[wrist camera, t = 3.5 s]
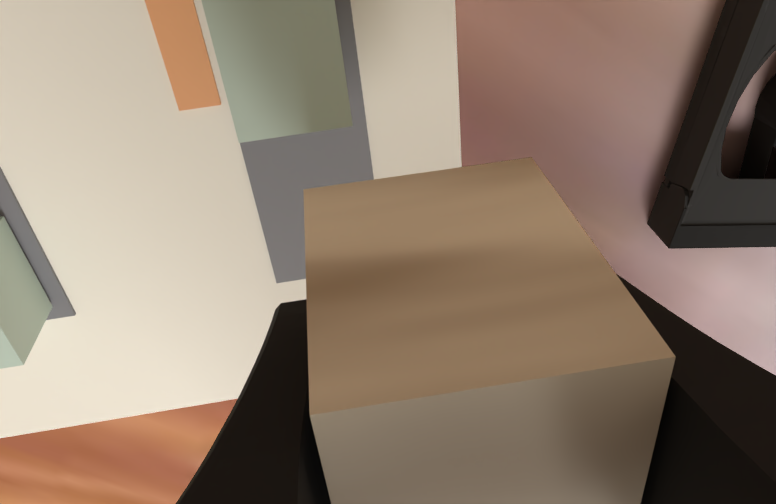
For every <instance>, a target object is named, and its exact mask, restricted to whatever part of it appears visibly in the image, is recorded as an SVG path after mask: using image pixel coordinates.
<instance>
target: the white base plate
mask: <svg viewBox="0 0 776 504" xmlns="http://www.w3.org/2000/svg"><path fill="white" fill-rule="evenodd" d="M335 7H336V14H337V21H338V27H339V34H340V41H341V48H342V55H343V62H344V68H345V75H346V82H347V89H348V96H349V103H350V110H351V116H352V123H353V126H350V127H344V128H337V129H330V130H323V131H317V132H310V133H303V134H297V135H290V136H283V137H277V138H270V139H263V140H256V141H250V142H243V143H239V141H238V137H237V134H236V130H235V126H234V122H233V118H232V115H231V111H230V107H229V103H228V99H227V96H226V92H225V88H224V84H223V81H222V77H221V73H220V69H219V65H218V62H217V58H216V54H215V50H214V46H213V43H212V39H211V35H210V31H209V27H208V24H207V20H206V16H205V12H204V8H203V5H202V1H201V0H0V217H1V216H4V218H5V219H6V221H7V223H8V225H9V227H10V229H11V231H12V232H13V234H14V236H15V238H16V240H17V242H18V243H19V245H20V247H21V249H22V251H23V253H24V255H25V256H26V258H27V260H28V262H29V264H30V266H31V267H32V269H33V271H34V273H35V275H36V277H37V279H38V280H39V282H40V284H41V286H42V288H43V290H44V291H45V293H46V295H47V297H48V299H49V301H50V303H51V304H52V306H53V307H52V309H51V311H50V313H49V315H48V317H47V319H46V321H45V323H44V325H43V327H42V329H41V331H40V333H39V335H38V337H37V339H36V341H35V343H34V345H33V347H32V349H31V351H30V353H29V355H28V357H27V359H26V361H25V363H24V365H21V366H15V367H8V368H2V369H0V438H4V437H10V436H16V435H22V434H28V433H34V432H40V431H46V430H52V429H58V428H64V427H70V426H76V425H82V424H88V423H94V422H100V421H106V420H112V419H118V418H124V417H130V416H136V415H142V414H148V413H154V412H160V411H166V410H172V409H178V408H184V407H190V406H196V405H202V404H208V403H214V402H220V401H226V400H232V399H238V397H239V395H240V393H241V391H242V389H243V387H244V385H245V383H246V381H247V379H248V377H249V374H250V372H251V370H252V368H253V366H254V364H255V361H256V359H257V357H258V354H259V352H260V350H261V347H262V345H263V343H264V340H265V338H266V335H267V332H268V330H269V327H270V324H271V321H272V318H273V315H274V312H275V309H276V308H277V307H278V306H279V305H280V303H285V302H291V301H298V300H305V299H306V265H305V228H304V191H303V189H310V188H317V187H324V186H331V185H338V184H345V183H352V182H360V181H367V180H374V179H381V178H388V177H395V176H402V175H409V174H416V173H423V172H430V171H437V170H444V169H452V168H459V167H462V162H461V136H460V111H459V85H458V60H457V35H456V9H455V0H335Z"/></svg>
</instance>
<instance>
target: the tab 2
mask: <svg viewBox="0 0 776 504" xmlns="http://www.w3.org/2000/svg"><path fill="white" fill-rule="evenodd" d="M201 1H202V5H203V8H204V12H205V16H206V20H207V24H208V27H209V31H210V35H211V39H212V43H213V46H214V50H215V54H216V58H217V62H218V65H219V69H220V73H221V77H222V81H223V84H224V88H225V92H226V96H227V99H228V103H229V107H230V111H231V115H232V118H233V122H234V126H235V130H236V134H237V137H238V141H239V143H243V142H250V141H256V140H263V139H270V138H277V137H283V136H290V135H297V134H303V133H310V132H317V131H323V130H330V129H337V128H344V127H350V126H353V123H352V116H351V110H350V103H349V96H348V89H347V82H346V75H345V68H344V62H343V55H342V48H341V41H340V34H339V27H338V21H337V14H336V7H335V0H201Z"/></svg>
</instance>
